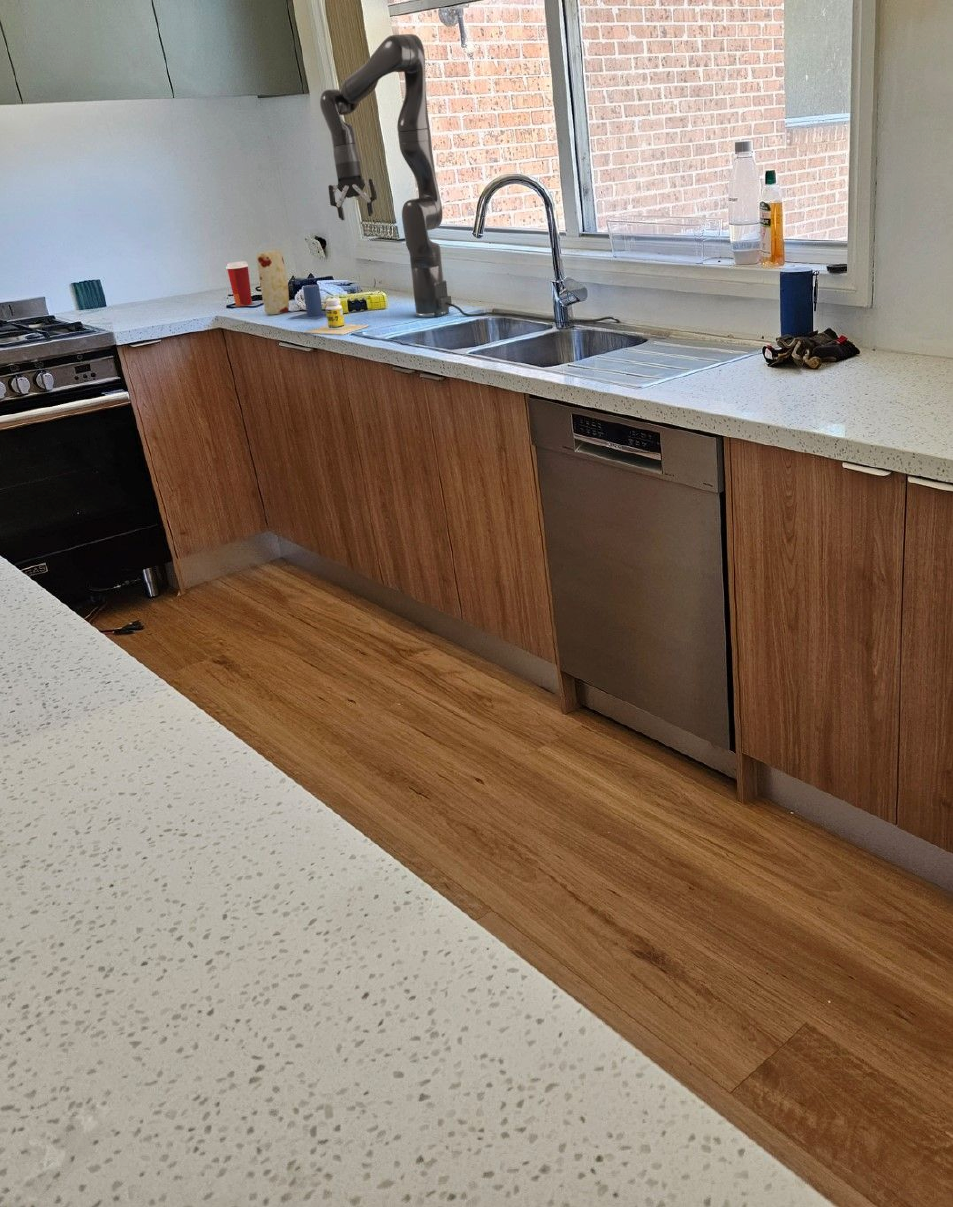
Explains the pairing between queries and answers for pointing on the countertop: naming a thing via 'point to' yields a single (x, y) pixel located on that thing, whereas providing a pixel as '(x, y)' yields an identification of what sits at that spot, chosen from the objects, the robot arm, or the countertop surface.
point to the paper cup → (240, 282)
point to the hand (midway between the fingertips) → (356, 218)
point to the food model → (273, 282)
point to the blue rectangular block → (312, 300)
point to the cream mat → (345, 330)
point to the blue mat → (304, 316)
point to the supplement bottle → (334, 314)
